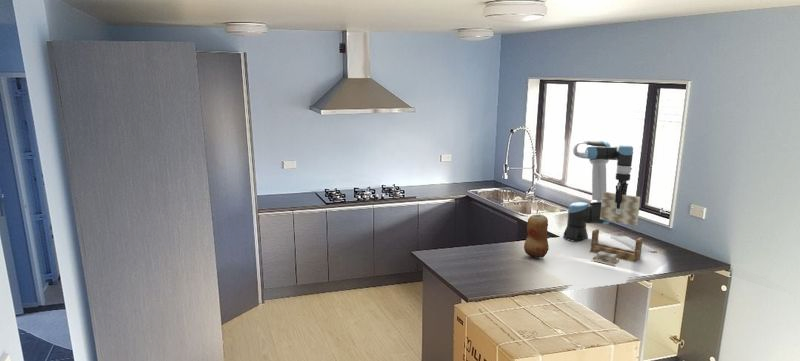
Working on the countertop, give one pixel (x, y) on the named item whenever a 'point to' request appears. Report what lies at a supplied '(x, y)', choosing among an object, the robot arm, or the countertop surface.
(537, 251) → the butternut squash
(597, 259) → the grey textured block
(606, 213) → the patterned board
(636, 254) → the oak rack
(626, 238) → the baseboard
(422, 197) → the countertop surface
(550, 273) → the countertop surface
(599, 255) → the grey mdf offcut
